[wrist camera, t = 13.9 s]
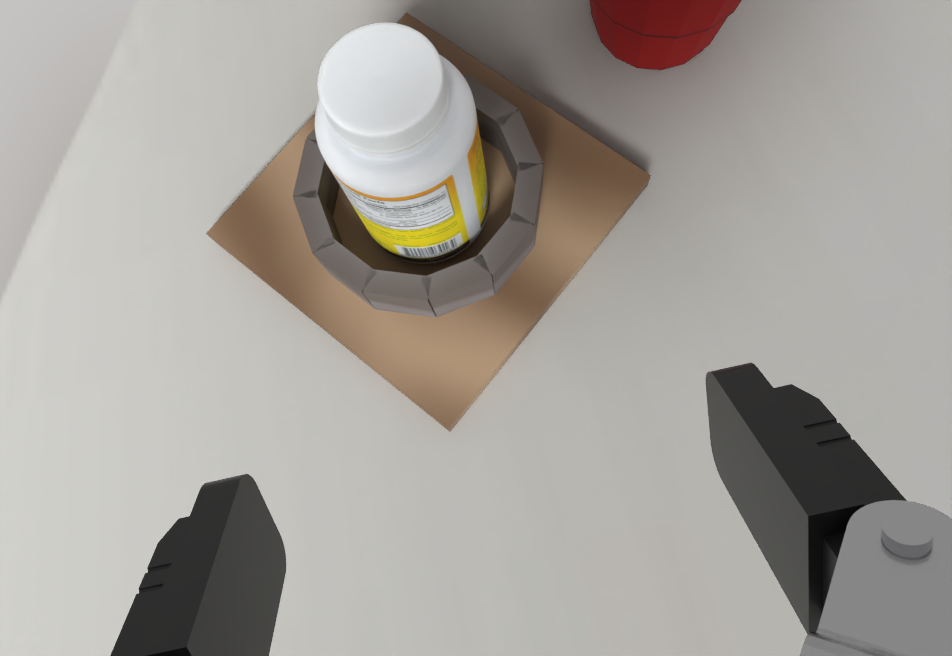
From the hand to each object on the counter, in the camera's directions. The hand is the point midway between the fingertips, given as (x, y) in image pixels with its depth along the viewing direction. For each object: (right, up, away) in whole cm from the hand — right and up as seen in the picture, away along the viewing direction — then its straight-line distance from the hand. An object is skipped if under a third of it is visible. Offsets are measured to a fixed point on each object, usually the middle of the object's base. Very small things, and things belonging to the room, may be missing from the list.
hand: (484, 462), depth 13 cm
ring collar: (-2, +8, +21) cm, 22 cm away
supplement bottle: (-2, +8, +20) cm, 21 cm away
